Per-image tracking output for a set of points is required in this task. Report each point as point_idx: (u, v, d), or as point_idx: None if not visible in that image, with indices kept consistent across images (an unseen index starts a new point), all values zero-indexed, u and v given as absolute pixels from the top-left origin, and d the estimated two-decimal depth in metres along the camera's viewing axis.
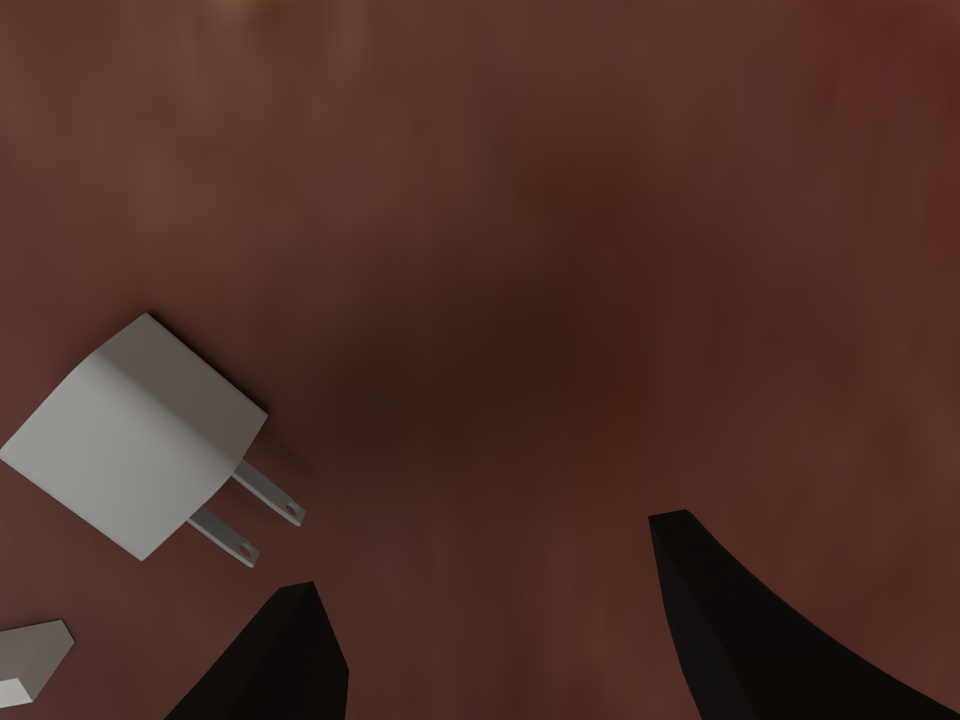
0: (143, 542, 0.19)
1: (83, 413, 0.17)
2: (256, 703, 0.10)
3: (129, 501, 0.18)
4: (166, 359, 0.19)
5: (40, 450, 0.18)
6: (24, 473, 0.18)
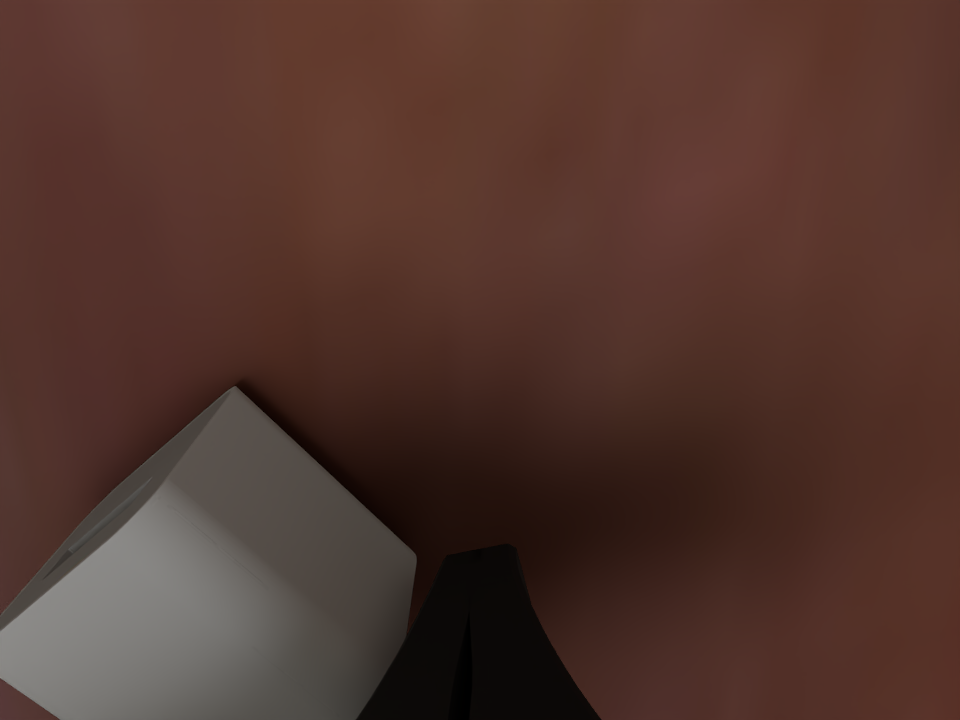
0: None
1: (138, 600, 0.09)
2: (467, 665, 0.09)
3: None
4: (275, 476, 0.11)
5: (51, 656, 0.09)
6: (18, 689, 0.10)
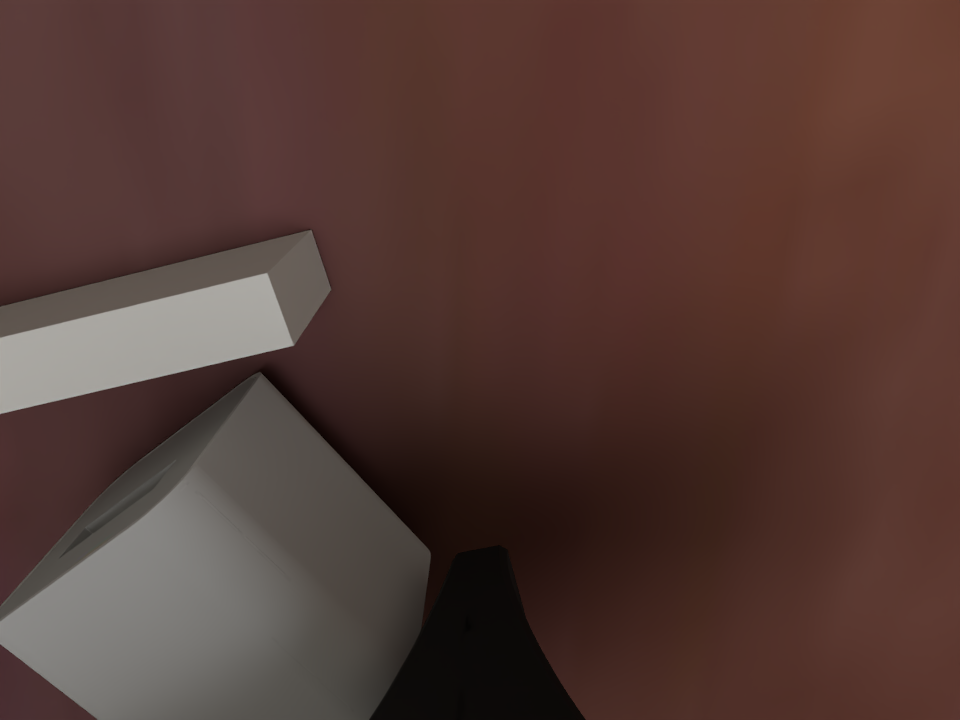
0: None
1: (160, 585, 0.09)
2: None
3: None
4: (297, 465, 0.11)
5: (67, 636, 0.09)
6: (31, 666, 0.10)
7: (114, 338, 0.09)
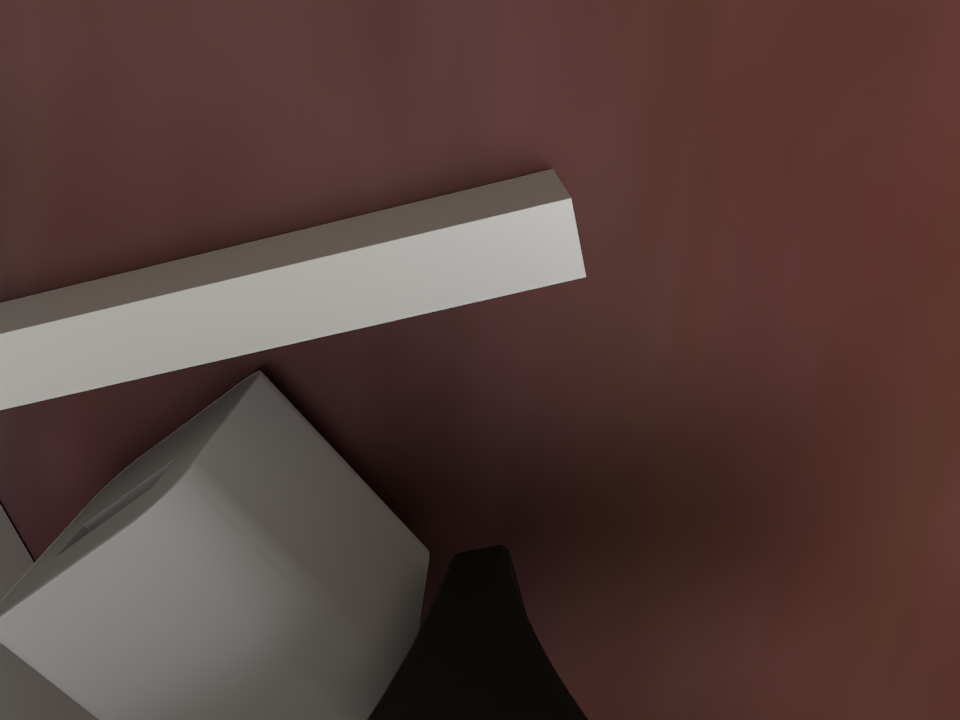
0: None
1: (158, 583, 0.09)
2: None
3: None
4: (296, 465, 0.11)
5: (65, 633, 0.09)
6: (29, 663, 0.10)
7: (399, 268, 0.09)
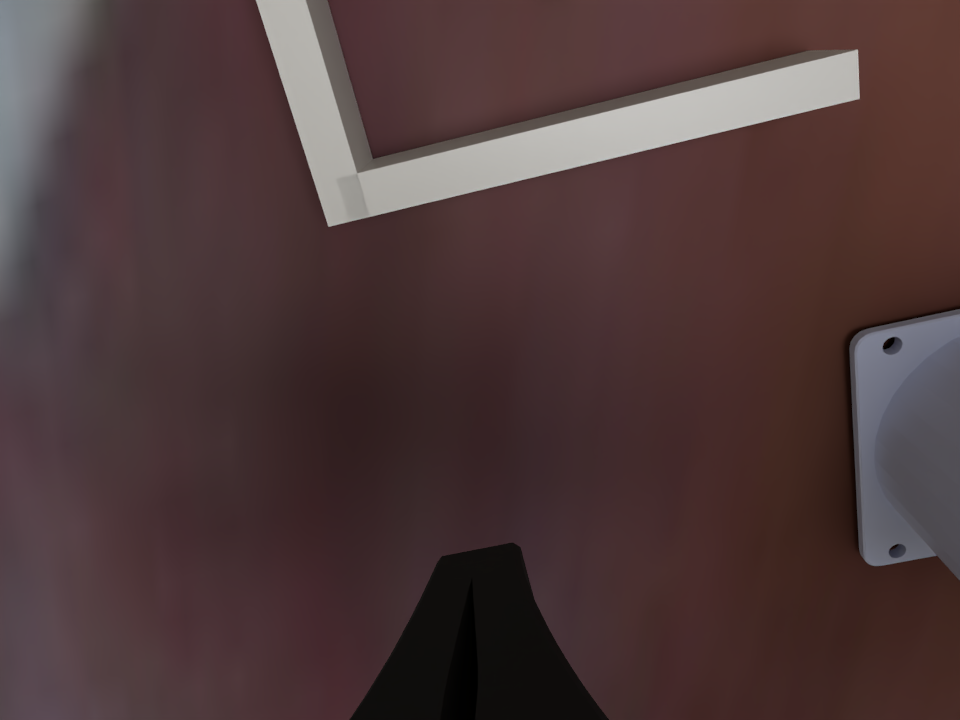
0: None
1: None
2: (461, 666, 0.09)
3: None
4: None
5: None
6: None
7: None
